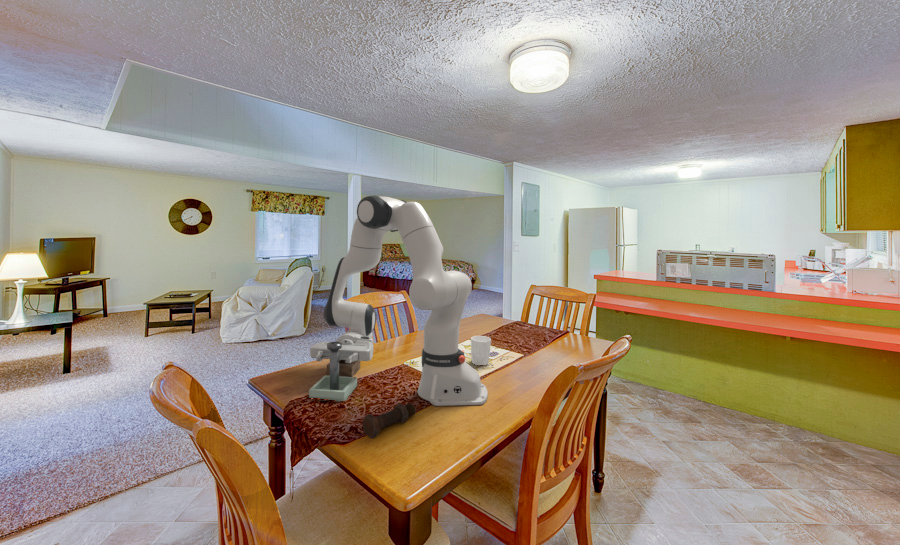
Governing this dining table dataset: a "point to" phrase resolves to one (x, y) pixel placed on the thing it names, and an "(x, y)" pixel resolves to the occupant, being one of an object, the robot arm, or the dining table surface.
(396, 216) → the robot arm
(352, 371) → the socket block
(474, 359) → the white cup
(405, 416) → the bolt
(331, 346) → the pin
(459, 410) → the dining table surface
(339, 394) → the tray
